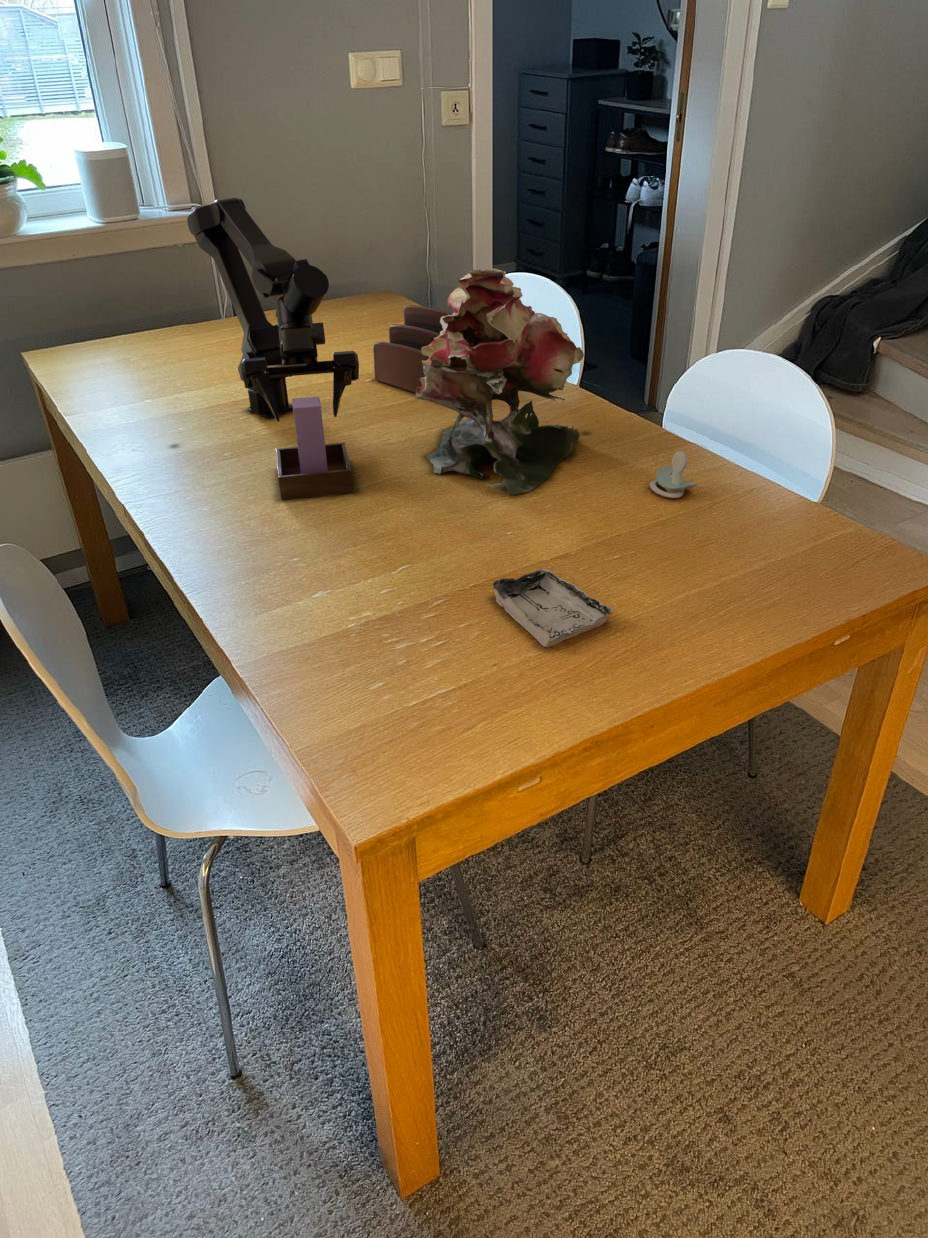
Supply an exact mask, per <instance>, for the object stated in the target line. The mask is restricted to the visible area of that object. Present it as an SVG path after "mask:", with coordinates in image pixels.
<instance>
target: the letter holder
mask: <svg viewBox="0 0 928 1238" xmlns="http://www.w3.org/2000/svg"><path fill="white" fill-rule="evenodd" d="M402 312H403V323H404V324H397V323H396V324H391V325H389V327H388V341H389V342H387V341H376V342H374V343H373V347H372V352H373V370H374V371H373V373H374V380H375V381H377V382H380V383H384V384H387V385H390V386H393V387H395V388H399V389H402V390H405V391H408V392H411V393H415V394H416V388H417V387H421V386H422V383H421V381H420V380H419V379H420V378H422V377H426V376H425V374H424V372H423V371H424V369H423V367H424V365H423V364H422V361H426V360H428V359H429V356H426V355H423V354H422V353H421V348H422V347H424V346H428V345H429V344H431V343H432V341H434V338H436V337H438V336H439V335H440V332H441V331H442V330H443V328H442V325H441V323H440V320H441V317H443V316H447V315H453V313H454V312H451V311H447V310H444V309H439V308H436V307H431V306H423V305H416V304H406V305H404V307H403V311H402Z"/></svg>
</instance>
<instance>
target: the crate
mask: <svg viewBox="0 0 928 1238" xmlns="http://www.w3.org/2000/svg"><path fill="white" fill-rule="evenodd" d="M325 449H326V458H327V468H328V471H325V472H315V473H304V474H301V469H300V461H299V453H298V446H290V447H280V448H279V447H278V448H275V451H276V453H275V454H276V466H277V478H278V485H279V487H278V488H279V493H280V499H281V501H283V500H292V499H293V500H294V499H302V498H312V497H313V498H315V497H322V496H332V495H341V494H352V493H354V485H353V473H352V467H351V463H350V459H349V454H348V449H347V445H346V442H345V441H344V442H334V443H333V442H332V443H325Z"/></svg>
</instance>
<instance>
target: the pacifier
mask: <svg viewBox="0 0 928 1238" xmlns="http://www.w3.org/2000/svg"><path fill="white" fill-rule="evenodd" d="M688 464H689V457H688V455H687V453H685V452H684V451H683V450H682V451H681V450H678V451H676V452H675V453H674V455H673V456H672V459H671V466H668V465H667V466H666V465H665V466H662V467H660V468H658V470H657V471H656V472H655V479H654V480H651V481H650V482H649V487H650V489H651V490H652V492H654V493H655V494H656V495H659V496H661V497H663V498H669V499H679V498H682V496H684V493H685V490H687V489H691V488H694V487H696V486H697V485H698V483H697V482H689V481H684V471H685V470H686V469H687V466H688ZM658 485H659V486H660V487H662V488H664V490H665V491H664V490H662V489H660V488H659V487H658Z"/></svg>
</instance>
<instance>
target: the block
mask: <svg viewBox="0 0 928 1238" xmlns="http://www.w3.org/2000/svg"><path fill="white" fill-rule="evenodd" d="M291 405H293V409H292V413H293V420H294V428H295V435H296V443H297V444H296V445H297V447H298V453H299V461H300V469H301V474H304V473H315V472H325V471H328V468H327V458H326V449H325V444H326V441H325V431H324V423H323V414H322V404H321V400H320V396H309V397H307V396H306V397H296V398H291Z"/></svg>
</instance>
